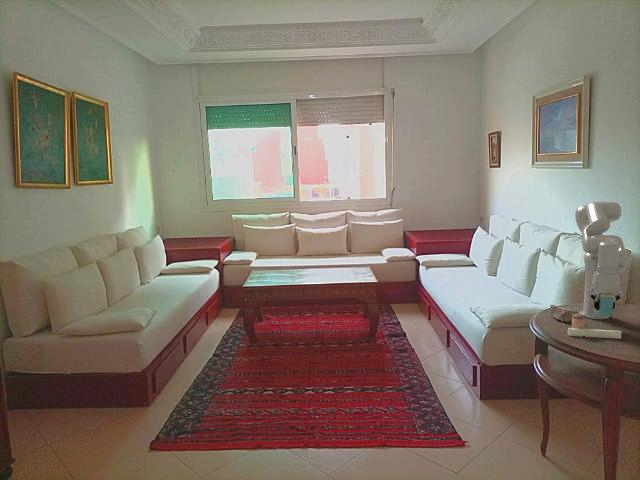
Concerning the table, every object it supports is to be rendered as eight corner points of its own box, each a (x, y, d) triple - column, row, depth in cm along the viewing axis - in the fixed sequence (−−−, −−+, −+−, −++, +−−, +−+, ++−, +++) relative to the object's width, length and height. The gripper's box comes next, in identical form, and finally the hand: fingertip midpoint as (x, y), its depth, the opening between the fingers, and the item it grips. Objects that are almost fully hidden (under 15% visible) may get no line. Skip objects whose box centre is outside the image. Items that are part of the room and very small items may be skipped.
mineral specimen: (545, 319, 232) (546, 306, 231) (551, 315, 237) (552, 303, 236) (574, 325, 223) (575, 311, 222) (579, 320, 228) (580, 308, 227)
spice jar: (569, 330, 216) (570, 313, 215) (583, 331, 215) (584, 313, 214) (572, 334, 211) (573, 316, 210) (585, 335, 210) (586, 317, 209)
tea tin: (599, 315, 214) (600, 295, 212) (594, 309, 220) (596, 289, 218) (612, 316, 212) (614, 295, 210) (607, 310, 219) (609, 290, 217)
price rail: (567, 334, 212) (568, 327, 211) (620, 337, 206) (620, 330, 206) (568, 335, 210) (568, 329, 210) (621, 338, 205) (621, 332, 204)
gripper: (626, 267, 213) (623, 307, 217) (583, 266, 218) (580, 305, 222) (632, 273, 206) (628, 313, 210) (587, 271, 211) (584, 311, 215)
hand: (603, 309), depth 216 cm, fingers closed on tea tin, 5 cm apart
